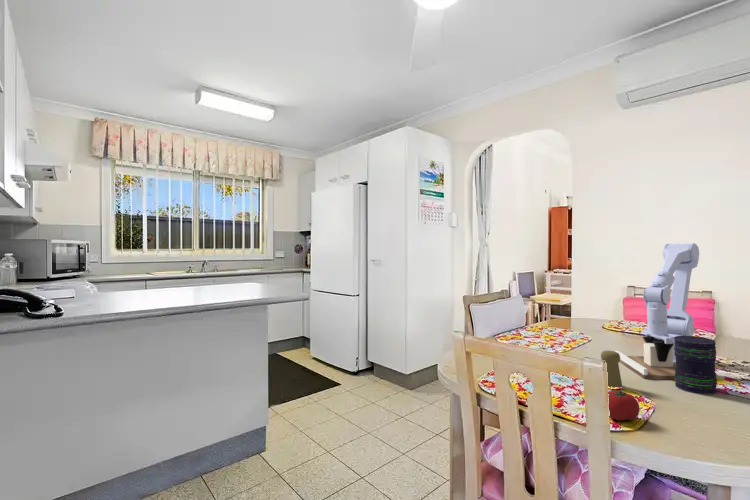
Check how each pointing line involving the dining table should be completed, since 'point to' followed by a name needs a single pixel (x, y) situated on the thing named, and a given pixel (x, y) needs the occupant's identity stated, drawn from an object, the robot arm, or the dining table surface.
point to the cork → (612, 368)
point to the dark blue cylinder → (695, 364)
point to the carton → (651, 356)
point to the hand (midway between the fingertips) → (658, 359)
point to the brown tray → (647, 368)
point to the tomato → (622, 406)
